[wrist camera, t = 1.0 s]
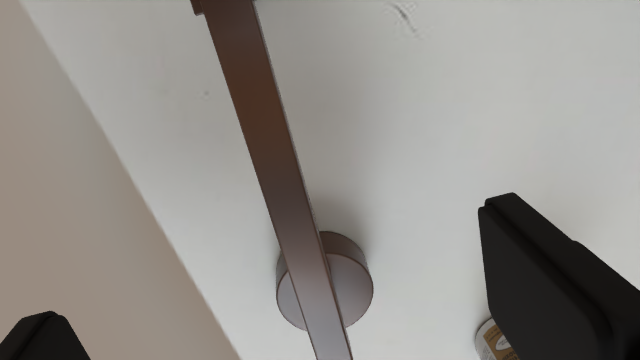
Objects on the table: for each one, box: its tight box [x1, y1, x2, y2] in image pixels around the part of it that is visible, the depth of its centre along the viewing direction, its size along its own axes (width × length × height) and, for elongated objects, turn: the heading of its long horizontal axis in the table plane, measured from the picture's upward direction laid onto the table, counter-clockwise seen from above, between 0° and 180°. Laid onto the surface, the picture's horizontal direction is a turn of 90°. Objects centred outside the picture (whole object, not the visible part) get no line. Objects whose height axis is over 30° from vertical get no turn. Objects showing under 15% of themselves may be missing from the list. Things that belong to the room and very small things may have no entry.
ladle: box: [190, 0, 373, 360], centre depth 21 cm, size 20×6×8 cm, turn 14°
